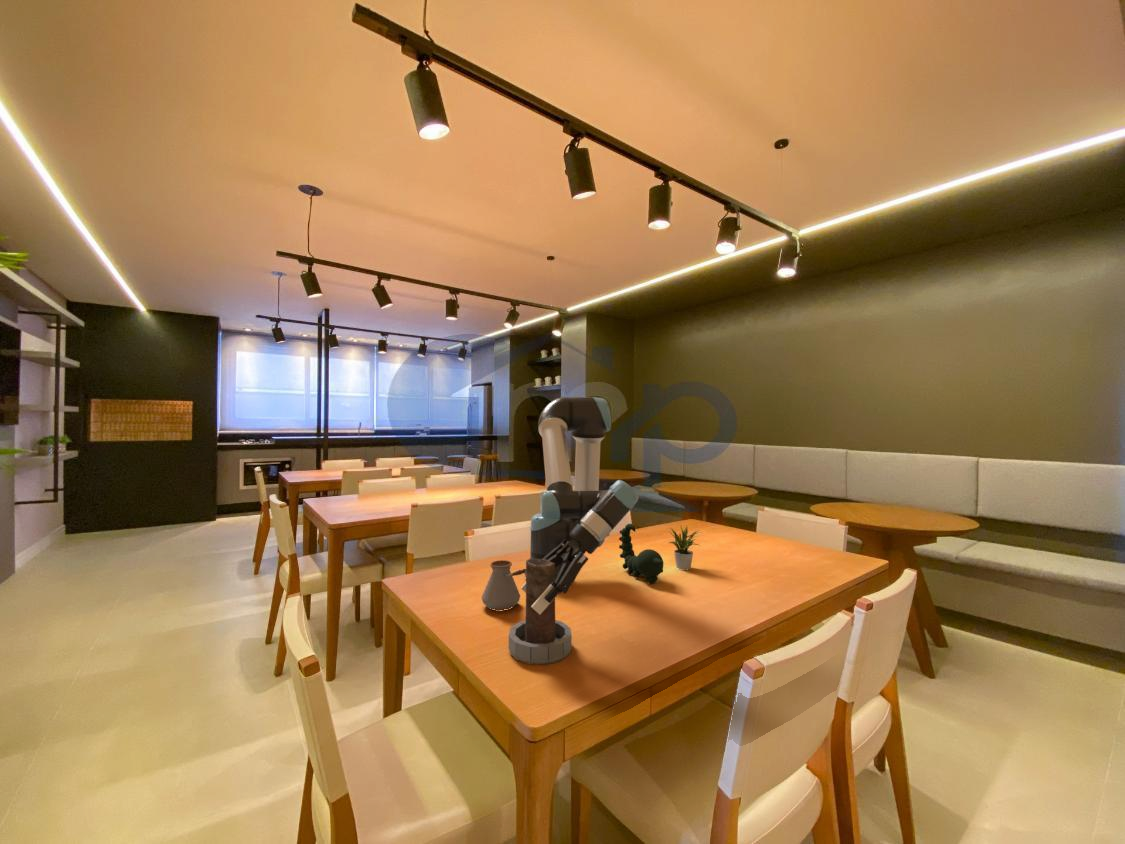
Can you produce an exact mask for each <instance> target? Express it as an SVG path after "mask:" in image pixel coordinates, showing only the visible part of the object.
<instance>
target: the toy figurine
mask: <svg viewBox="0 0 1125 844" xmlns="http://www.w3.org/2000/svg"><path fill="white" fill-rule="evenodd" d="M631 531H633V532H634V533H635V532H636V526H635V525H634V524H632V523H627V524H626V525H625V527H624V528H622V529H621V530H619V534H620V535H621V536H620V537H618V540H619V541H620V542H621V544H619V545H618V548H619V549H621V550H622V552H621V553H620V554H619V557H620V558H621V559H624V563H623V564H622V568H623V569H624V570H627V571H626V573H627V574H628V575H629V574H632V576H633V577H634V578H637V579H638V578H639V577H640V576H643V577H645V578H646V579H645V580H646V582H647V584H656V583H657V582H658V581H659V577H658V576H659V575H660V574H663V572H664V560H663V557H662V556H661V554H660V553H659V552H657V551H656V550H655V549H651V548H649V549H647V548H646V549H644V550H642V551H641V552H639V554H638V555H635V551H634V548H633V543H632V536H631Z"/></svg>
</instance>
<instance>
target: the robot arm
mask: <svg viewBox="0 0 1125 844" xmlns="http://www.w3.org/2000/svg"><path fill="white" fill-rule="evenodd" d="M537 427H538V430H537V431H538V433H539V435H540V436H541V439H542V453H543V465H544V475H545V477H544V478H545V487H546V488H545V489H546V490H544V491H541V493H540V498H539V499H540V501H539V502H540V503H539V504H540V506H539V507H540V512H539V513H536V514H534V515H533V516H532V517H531V518H530V519H531V520H530V527H529V531H530V547H529V548H530V551H529V552H530V557H529V559H546V560H549V561H550V562H552V563H554V564H555V582H551V584H550V585H549V587H548V588H547V589H546V590H545V591H544V592H543V593H542V594H541V596H540V597H539V598H538V599H537V600H536V601H535V602H534V604H533V605H532V606H531V607H532V608H533V609H534V610H535V611H536V612H537V613H538V614H541V613H542V612H543V611H544V610H545V609H546V608H547V606H548V605H549V604H550V603H551V602H552V601H553V599H554V598H555V599H556V597H557V596H558V595H559V594H567V593H568V592H569V590H570V588H571V586H572V585H573V583H574V581H575V580H576V578H577V576H578V575H579V573H580V571H581V570H582V568H583V567H584V565H585V564H586V563H587V562H588V560H589V558H588V556H586V555H585V554H586V553H588V554H589V555H592V554H593V553H595V551H596V550H597V548H600V547H601V546H602V545H603V544H604V542H605V539H606V538H607V537H609V536H610V533H611V532H612V531H613V530H614V529H615V528H616V526H617V525H619V523H620V522H621V521H622V520H624V518H625V516H627V514H628V513H629V512H630V511H631V510H632V509H633V508H634V506H635V505H636V504H637V502H638V500H639V494H638V493H637V492H636V490H635V489H634V488H633V487H632V486H631V485H630V484H628V483H627V482H625V481H623V480H621V479H618V480H616V481H614V483H613V484H612V485H610V486H609V488H608V489H607V490H606V489H605V490H603V489H602V490H599V487H600V466H601V465H600V462H601V443H602V441H603V440H604V439H605V438H606V432H609V431H611V428H612V417H611V409H610V405H609V403H608V401H607V400H606V399H605V398H603V397H595V396H587V397H585V396H578V397H576V396H575V397H573V396H571V397H568V396H562V397H557V398H555V399H553V400H551V402H549V403H548V404H547V405H546V406H545V407H544V408H543V410H542V411H541V413H540V415H539V418H538V422H537ZM568 432H571V437H572V438H573V439H574V440H575V461H574V463H575V464H574V484H573V479H572V471H571V465H570V458H569V452H568V444H567V438H566V437H567V436H566V434H567V433H568ZM573 485H574V487H573ZM573 488H574V489H573ZM525 574H526V573H524V578H525V577H526V576H525ZM520 589H521V590H522V591H523V592H524V593H525V594H526V581H525V582H524V584H522V586H521V587H520Z"/></svg>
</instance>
